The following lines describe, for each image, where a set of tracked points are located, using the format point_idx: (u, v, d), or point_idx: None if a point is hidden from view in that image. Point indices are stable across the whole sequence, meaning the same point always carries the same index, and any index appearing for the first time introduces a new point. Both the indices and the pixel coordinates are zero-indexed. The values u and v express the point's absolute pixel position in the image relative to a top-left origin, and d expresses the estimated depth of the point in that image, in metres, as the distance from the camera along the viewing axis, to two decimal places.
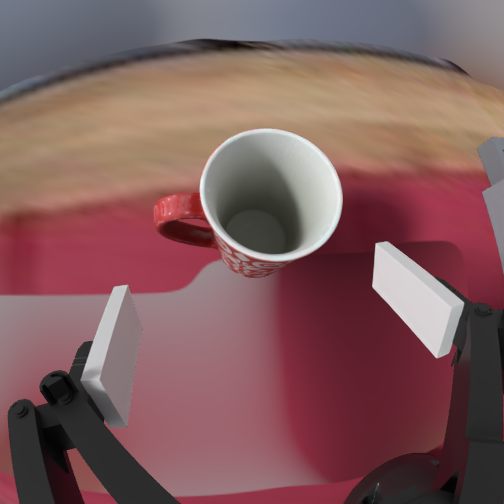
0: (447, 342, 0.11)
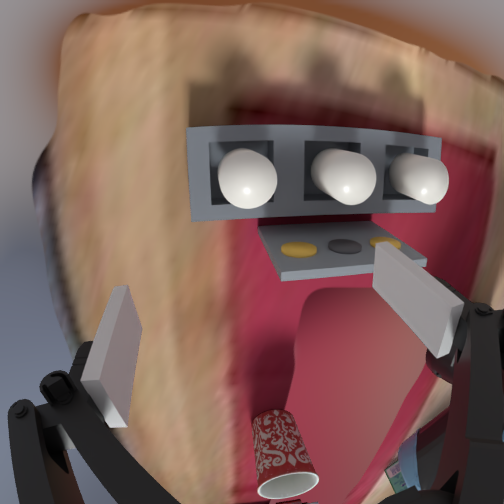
0: (447, 342, 0.11)
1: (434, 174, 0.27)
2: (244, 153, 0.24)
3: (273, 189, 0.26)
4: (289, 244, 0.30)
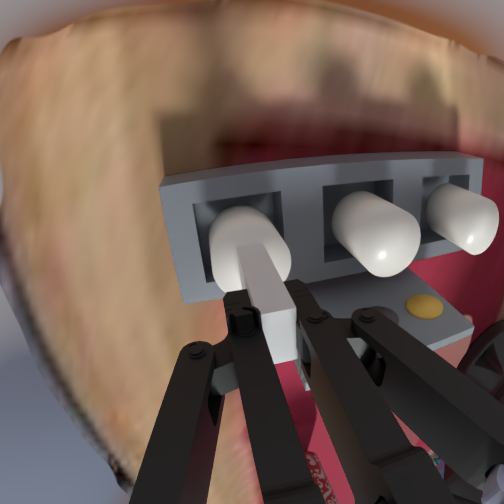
0: (288, 347, 0.13)
1: (484, 218, 0.20)
2: (243, 231, 0.18)
3: (286, 272, 0.19)
4: None
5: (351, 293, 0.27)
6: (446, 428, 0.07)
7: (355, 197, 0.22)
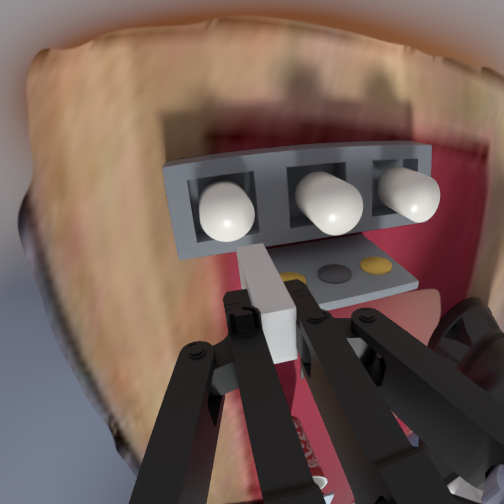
0: (288, 347, 0.13)
1: (424, 191, 0.27)
2: (220, 191, 0.26)
3: (251, 221, 0.27)
4: None
5: (315, 256, 0.33)
6: (446, 428, 0.07)
7: (312, 175, 0.29)
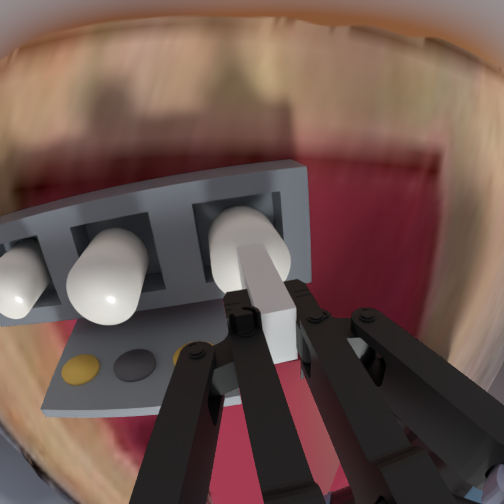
0: (287, 347, 0.13)
1: None
2: None
3: (29, 299, 0.19)
4: (75, 359, 0.21)
5: (138, 330, 0.25)
6: (446, 428, 0.07)
7: (96, 237, 0.20)
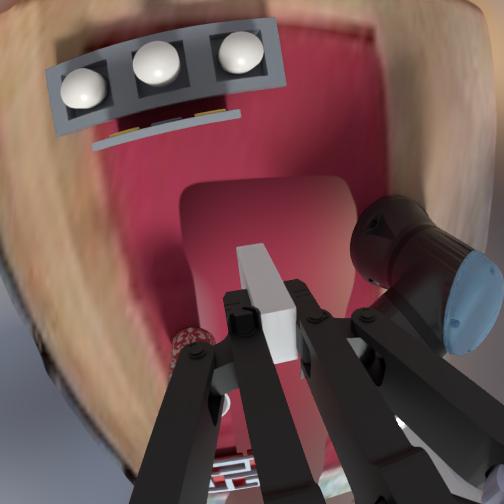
0: (288, 347, 0.13)
1: (242, 44, 0.29)
2: (74, 71, 0.27)
3: (96, 89, 0.28)
4: None
5: None
6: (446, 428, 0.07)
7: None
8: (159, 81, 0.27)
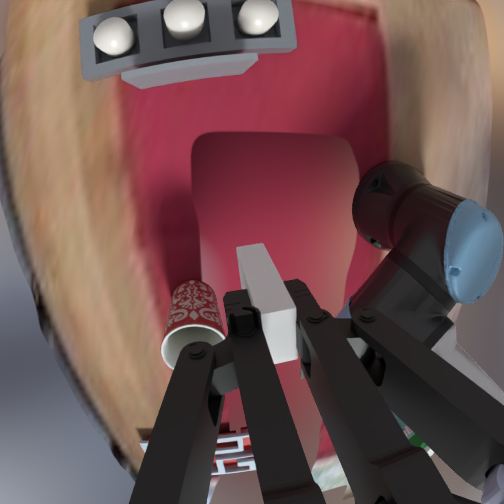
0: (288, 347, 0.13)
1: (260, 7, 0.30)
2: (107, 19, 0.28)
3: (127, 35, 0.29)
4: None
5: None
6: (446, 428, 0.07)
7: None
8: (186, 29, 0.29)
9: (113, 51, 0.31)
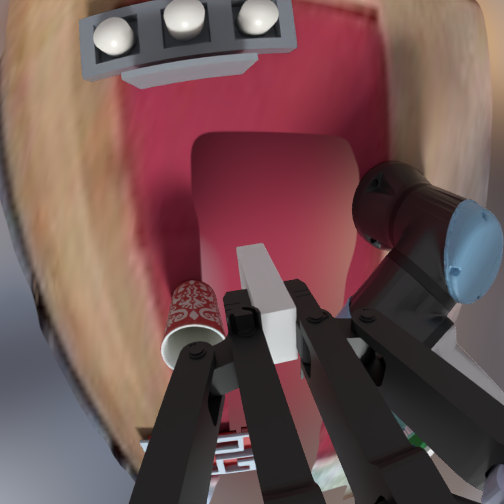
0: (288, 347, 0.13)
1: (260, 7, 0.30)
2: (107, 19, 0.28)
3: (127, 35, 0.29)
4: None
5: None
6: (446, 428, 0.07)
7: None
8: (186, 29, 0.29)
9: (113, 51, 0.31)
